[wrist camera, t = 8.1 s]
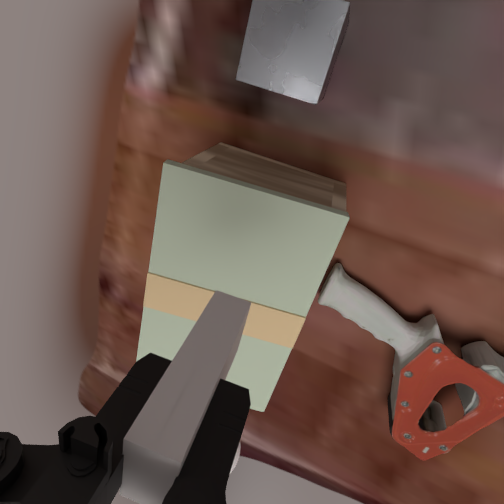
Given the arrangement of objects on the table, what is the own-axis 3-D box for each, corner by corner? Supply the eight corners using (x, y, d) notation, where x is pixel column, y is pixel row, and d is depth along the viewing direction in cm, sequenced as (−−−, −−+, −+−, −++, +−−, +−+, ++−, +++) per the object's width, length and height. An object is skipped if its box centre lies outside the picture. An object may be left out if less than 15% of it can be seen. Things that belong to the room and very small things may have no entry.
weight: (280, 1, 24) (257, -24, 18) (349, 21, 24) (350, 2, 18) (260, 79, 27) (235, 79, 21) (323, 98, 26) (316, 105, 20)
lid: (167, 159, 21) (162, 163, 20) (348, 212, 21) (350, 218, 21) (138, 369, 30) (133, 377, 29) (264, 404, 30) (263, 413, 30)
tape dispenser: (317, 253, 34) (339, 411, 41) (309, 277, 29) (335, 451, 36) (537, 239, 28) (520, 428, 35) (571, 267, 23) (543, 478, 30)
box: (221, 142, 30) (182, 162, 23) (346, 183, 29) (346, 217, 22) (186, 304, 38) (150, 355, 31) (281, 340, 37) (266, 400, 30)
